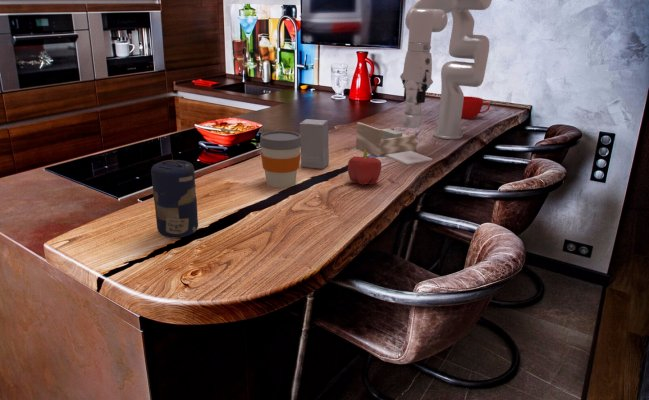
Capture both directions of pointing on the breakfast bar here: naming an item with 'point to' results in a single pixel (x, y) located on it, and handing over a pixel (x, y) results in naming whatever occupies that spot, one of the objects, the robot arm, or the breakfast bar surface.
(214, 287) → the breakfast bar surface
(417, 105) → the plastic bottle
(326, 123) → the skincare box
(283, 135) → the reusable coffee cup
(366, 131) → the frame
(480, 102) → the ceramic cup
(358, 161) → the vegetable
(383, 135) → the offcut top
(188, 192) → the canister
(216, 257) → the breakfast bar surface
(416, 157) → the pad
